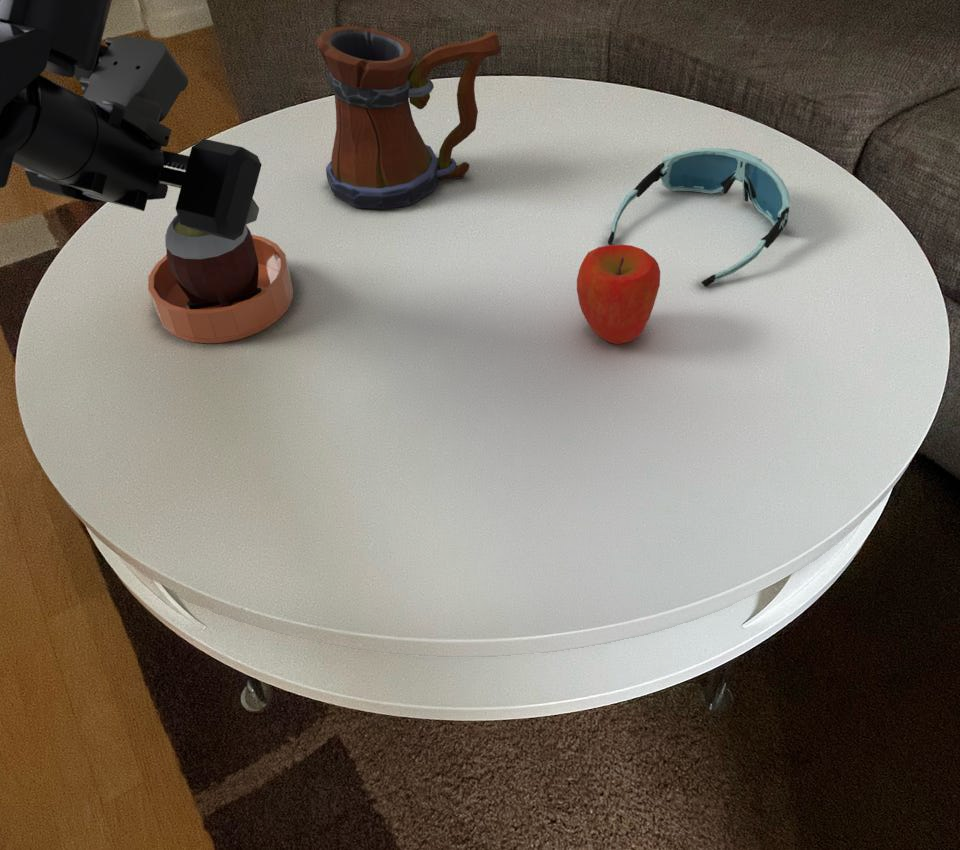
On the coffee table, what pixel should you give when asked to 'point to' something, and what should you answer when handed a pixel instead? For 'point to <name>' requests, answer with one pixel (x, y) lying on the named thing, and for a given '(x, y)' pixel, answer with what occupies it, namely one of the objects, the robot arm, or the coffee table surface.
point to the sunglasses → (721, 188)
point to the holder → (229, 320)
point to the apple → (618, 291)
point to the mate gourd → (212, 266)
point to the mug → (392, 115)
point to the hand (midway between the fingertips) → (209, 202)
